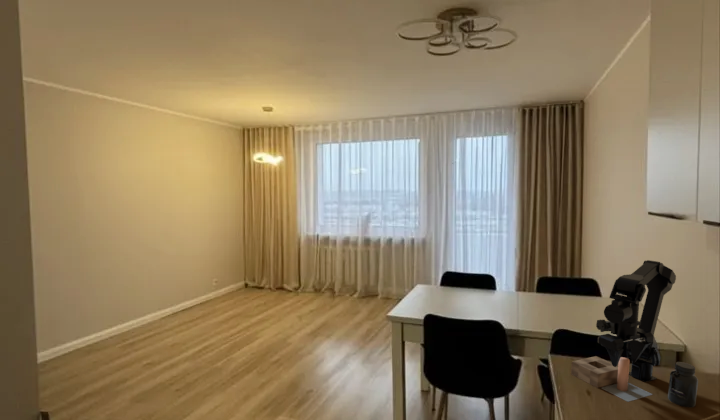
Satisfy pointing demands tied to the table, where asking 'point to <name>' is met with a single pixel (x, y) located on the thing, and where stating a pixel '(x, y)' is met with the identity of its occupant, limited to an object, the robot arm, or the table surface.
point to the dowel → (623, 374)
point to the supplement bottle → (683, 385)
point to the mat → (627, 392)
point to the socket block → (595, 371)
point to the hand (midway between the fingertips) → (624, 363)
